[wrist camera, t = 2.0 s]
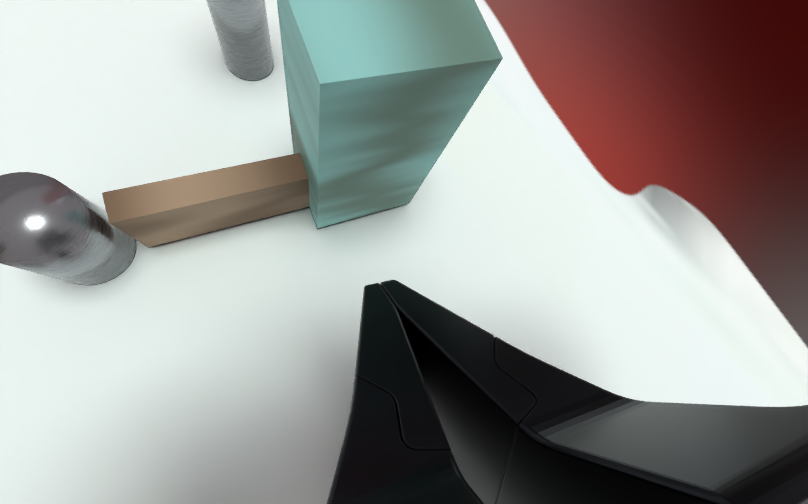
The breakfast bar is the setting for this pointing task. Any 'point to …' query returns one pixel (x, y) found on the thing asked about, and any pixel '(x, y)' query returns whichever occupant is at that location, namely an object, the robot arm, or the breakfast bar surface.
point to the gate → (338, 119)
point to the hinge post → (58, 232)
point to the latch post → (243, 36)
